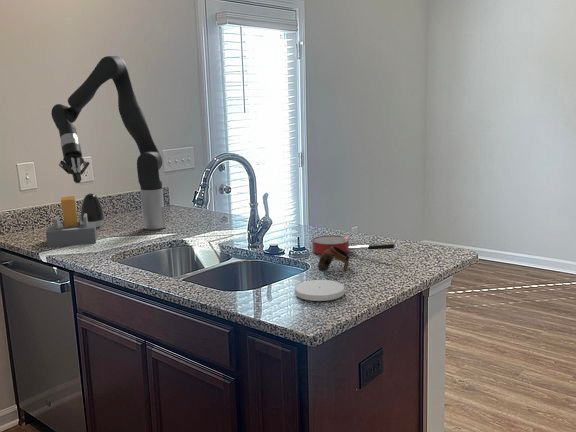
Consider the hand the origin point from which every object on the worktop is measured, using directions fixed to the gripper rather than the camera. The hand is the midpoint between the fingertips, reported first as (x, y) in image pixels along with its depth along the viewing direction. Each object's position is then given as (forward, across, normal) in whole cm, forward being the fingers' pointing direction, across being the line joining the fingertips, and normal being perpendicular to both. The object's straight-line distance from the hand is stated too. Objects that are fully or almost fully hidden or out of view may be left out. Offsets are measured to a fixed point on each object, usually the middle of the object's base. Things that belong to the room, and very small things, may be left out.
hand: (78, 182), depth 253 cm
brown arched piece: (+77, +40, -83) cm, 120 cm away
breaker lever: (+19, -5, +3) cm, 20 cm away
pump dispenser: (+11, +12, +21) cm, 27 cm away
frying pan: (+71, +58, -79) cm, 121 cm away
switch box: (+24, -5, +5) cm, 26 cm away
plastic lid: (+88, +20, -94) cm, 131 cm away
